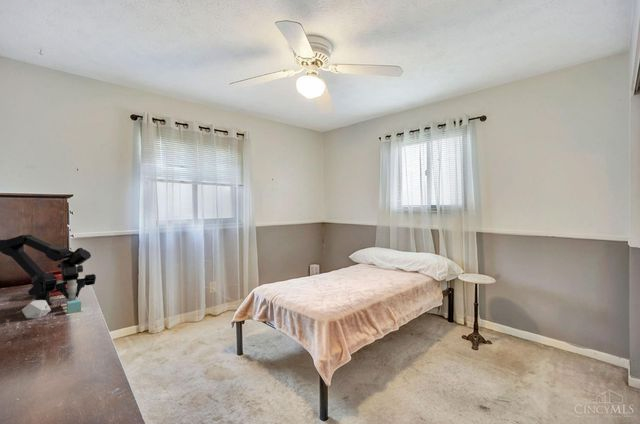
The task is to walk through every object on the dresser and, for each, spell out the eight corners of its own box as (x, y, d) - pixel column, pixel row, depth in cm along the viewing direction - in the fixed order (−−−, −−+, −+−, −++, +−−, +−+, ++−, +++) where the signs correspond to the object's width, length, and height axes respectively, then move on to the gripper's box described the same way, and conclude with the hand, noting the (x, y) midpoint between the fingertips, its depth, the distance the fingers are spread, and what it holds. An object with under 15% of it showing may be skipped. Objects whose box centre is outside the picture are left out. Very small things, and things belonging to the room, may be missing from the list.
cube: (66, 311, 132) (66, 301, 132) (79, 308, 136) (79, 299, 136) (68, 313, 129) (68, 303, 129) (81, 311, 133) (81, 301, 133)
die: (25, 325, 121) (44, 305, 124) (11, 314, 122) (30, 294, 125) (42, 325, 129) (60, 305, 131) (29, 314, 130) (46, 295, 133)
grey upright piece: (61, 306, 141) (60, 278, 141) (77, 303, 146) (76, 276, 145) (66, 317, 128) (66, 285, 127) (83, 314, 132) (83, 283, 132)
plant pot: (44, 292, 166) (44, 271, 166) (73, 289, 172) (73, 269, 171) (33, 298, 154) (33, 276, 154) (65, 295, 160) (64, 274, 160)
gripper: (43, 262, 132) (45, 292, 125) (94, 257, 146) (99, 283, 138) (42, 277, 138) (44, 306, 130) (92, 271, 151) (96, 296, 144)
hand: (72, 297), depth 135 cm, fingers closed on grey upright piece, 3 cm apart
